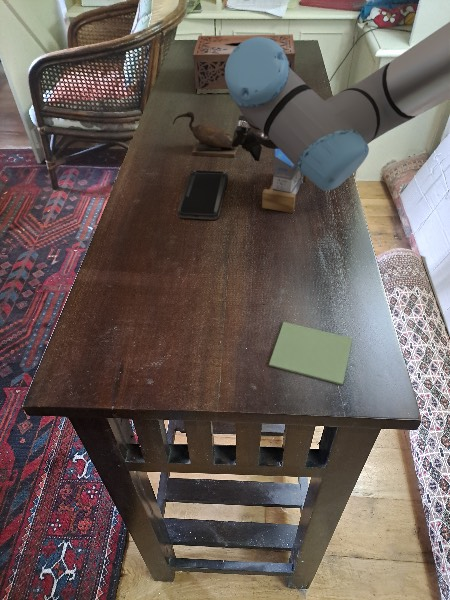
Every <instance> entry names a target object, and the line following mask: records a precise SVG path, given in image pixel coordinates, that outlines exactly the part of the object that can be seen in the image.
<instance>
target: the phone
mask: <svg viewBox="0 0 450 600" xmlns="http://www.w3.org/2000/svg"><path fill="white" fill-rule="evenodd" d="M228 176H229V175H228V172H226V171H219V170H218V171H216V170H215V171H214V170H196V169H195V170H192V171H191V172H190V173H189V176H188V179H187V182H186V185H185V188H184V190H183V193H182V196H181V199H180V202H179V205H178V208H177V216H178V217H179V218H180V219H187V220H188V219H189V220H204V221H205V220H206V221H207V220H209V221H215V220H218V219H219V218H220V214H221V210H222V206H223V201H224V197H225V193H226V189H227V185H228V180H229V177H228Z"/></svg>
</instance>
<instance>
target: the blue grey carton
mask: <svg viewBox="0 0 450 600" xmlns="http://www.w3.org/2000/svg"><path fill="white" fill-rule="evenodd" d="M273 150H274V162H273V175H272V176H273V177H272V183H273V190H274V191H280V192H286V193H292V194H296V195H297V194H298V193H299V190H301V187H302V185H303V183H304V181H303V176H304V175H303V174H301V172H300V171H299V170H298V168H297V167H296V166H295V165H294V164H293V163H292V162H291V161H290V160H289V159H288V158H287V156H286V155H285V154H284V153H283V152H282V151H281V150H280V149H273Z"/></svg>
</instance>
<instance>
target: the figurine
mask: <svg viewBox="0 0 450 600" xmlns="http://www.w3.org/2000/svg"><path fill="white" fill-rule="evenodd" d="M179 118H190V121H189V123H188V127H189V129H190V131H191V132H192V135H193V137H194V138H195V139H196V140H198V141H195V143H194V146H193V148H192V150H191V154H192V156H203V157H215V158H216V157H218V158H236V155H237V152H238V150H239V146H238V147H233V146H232V140H233V135H232V134H230V133H229V132H228V131H226V130H223V129H222V128H220V127H218V126H215V125H212V124H209V123H199V124H197V125H195V126H193V123H194V121H195V115H194V112H193V111H187V112H186V113H181V114H178V115H177V116H176V117H175V118H174V120H173V122H172V125H175V124H176V121H177V119H179Z"/></svg>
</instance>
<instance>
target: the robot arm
mask: <svg viewBox="0 0 450 600" xmlns="http://www.w3.org/2000/svg"><path fill="white" fill-rule="evenodd" d="M225 80H226V84H227V86H228V89H229V93H230V94H229V96H230V98H231V100H233V102H235V104H236V106H237V108H238V109H239V111H240V112H241V115H239V116H238V120H237V125H236V128H235V129H234V131H233V135H232V136H233V140H232V146H233V147H238V148H239V146H241V149H242V150H245V151H246V152H247V153H249V154H250V155H251V157H252V158H253V160H254V161H255V162H260V158H261V153H262V149H263V147H264V148H266V149H272V150H274V149H280V150H281V151H282V152H283V153H284V154H285V155H286V156H287V158H288V159H289V160H290V161H291V162H292V163H293V164H294V165H295V166H296V167H297V168H298V170H299V171H300V172H301V174H303V175H305V176H306V177H307V179H309V180H310V181H311V182H312V183H313V184H314V185H315V186H316V187H317V188H318V189H320V190H321V191H326V192H328V191H329V192H330V191H332V190H334V189H336V188H339V186H341V185H343V183H344V182H345V181H347V180H348V179H349V178H350V177H351V176H352V175H353V174H355V173H356V171H357V170H358V169H360V167H361V165H362V164H363V163H364V162H365V160H366V159H367V157H368V155H369V152H370V147H369V144H370V143H371V142H372V141H375V140H377V139H378V138H379V137H381V136H383V135H385V134H386V133H388V132H389V131H392V130H393V129H395V128H397V127H399V126H402V125H403V124H405V123H408V122H409V121H410V120H413V119H414V118H416V117H418V116H419V115H422V114H424V113H426V112H428V111H429V110H432V109H434V108H435V107H437V106H439V105H441V104H443V103H445V102H447V101H449V100H450V21H448V22H447V23H445V24H444V25H442V26H441V27H439V28H438V29H436V30H435V31H433V32H431V34H429V35H428V36H426V37H425V38H423V39H422V40H420V41H419V42H417V43H416V44H414V45H413V46H411V47H410V48H408V49H407V50H406V51H404V52H403V53H401V54H400V55H398V56H396V57H395V58H393V59H392V60H391V61H389V62H387V63H386V64H384V65H383V66H381V67H380V68H378V69H377V70H375V71H374V72H372V73H371V74H370V75H368V76H367V77H365V78H363V79H362V80H360V81H358V82H356V83H354V84H353V85H351V86H350V87H347V88H345V89H343V90H341V91H340V92H338V93H336V94H334V95H332V96H330V97H328V98H327V99H325V100H324V99H323V98H322V97H321V96H319V94H318V93H316V92H315V91H314V90H313V89H312V88H311V87H310V86H309V85H308V84H307V83H306V82H305V81H304V80H303V79H302V78H301V77H300V76H299V75H298V74H297V73H296V72H295V71H294V72H293V71H292V70H291V68H290V67H289V61H288V60H287V56H286V55H285V54H284V52H283V50H282V48H281V47H280V46H279V45H278V44H277V43H276V42H275V41H273V40H271V39H268V38H264V37H254V38H250V39H247V40H245V41H243V42H242V43H241V44H239V45H238V46H237V47H236V48H234V50H233V51H232V53H231V54H230V56H229V58H228V60H227V63H226V66H225Z"/></svg>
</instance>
